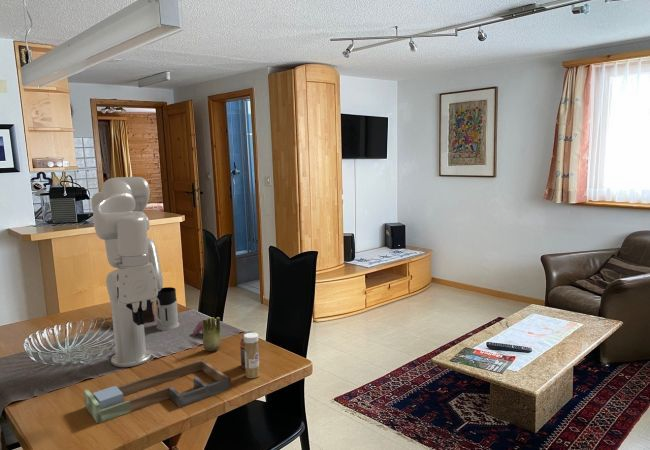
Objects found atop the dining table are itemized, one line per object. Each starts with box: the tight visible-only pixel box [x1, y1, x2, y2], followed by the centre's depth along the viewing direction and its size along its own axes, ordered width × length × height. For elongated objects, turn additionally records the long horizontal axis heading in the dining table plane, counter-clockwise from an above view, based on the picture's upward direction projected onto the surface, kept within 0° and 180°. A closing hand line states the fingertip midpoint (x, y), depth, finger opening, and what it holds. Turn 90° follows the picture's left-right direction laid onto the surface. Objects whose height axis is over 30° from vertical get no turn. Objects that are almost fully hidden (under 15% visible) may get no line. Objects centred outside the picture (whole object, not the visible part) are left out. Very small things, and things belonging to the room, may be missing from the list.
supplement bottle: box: [239, 330, 260, 370], centre depth 158 cm, size 6×6×11 cm
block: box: [92, 385, 125, 409], centre depth 133 cm, size 6×6×5 cm
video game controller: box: [192, 319, 216, 336], centre depth 185 cm, size 10×5×7 cm, turn 59°
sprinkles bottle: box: [244, 332, 261, 379], centre depth 151 cm, size 5×5×14 cm
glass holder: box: [152, 286, 180, 331], centre depth 192 cm, size 9×14×15 cm, turn 168°
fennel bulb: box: [202, 316, 222, 352], centre depth 171 cm, size 6×5×12 cm
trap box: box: [83, 359, 232, 424], centre depth 140 cm, size 18×36×5 cm, turn 131°
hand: (139, 323), depth 137 cm, fingers closed
